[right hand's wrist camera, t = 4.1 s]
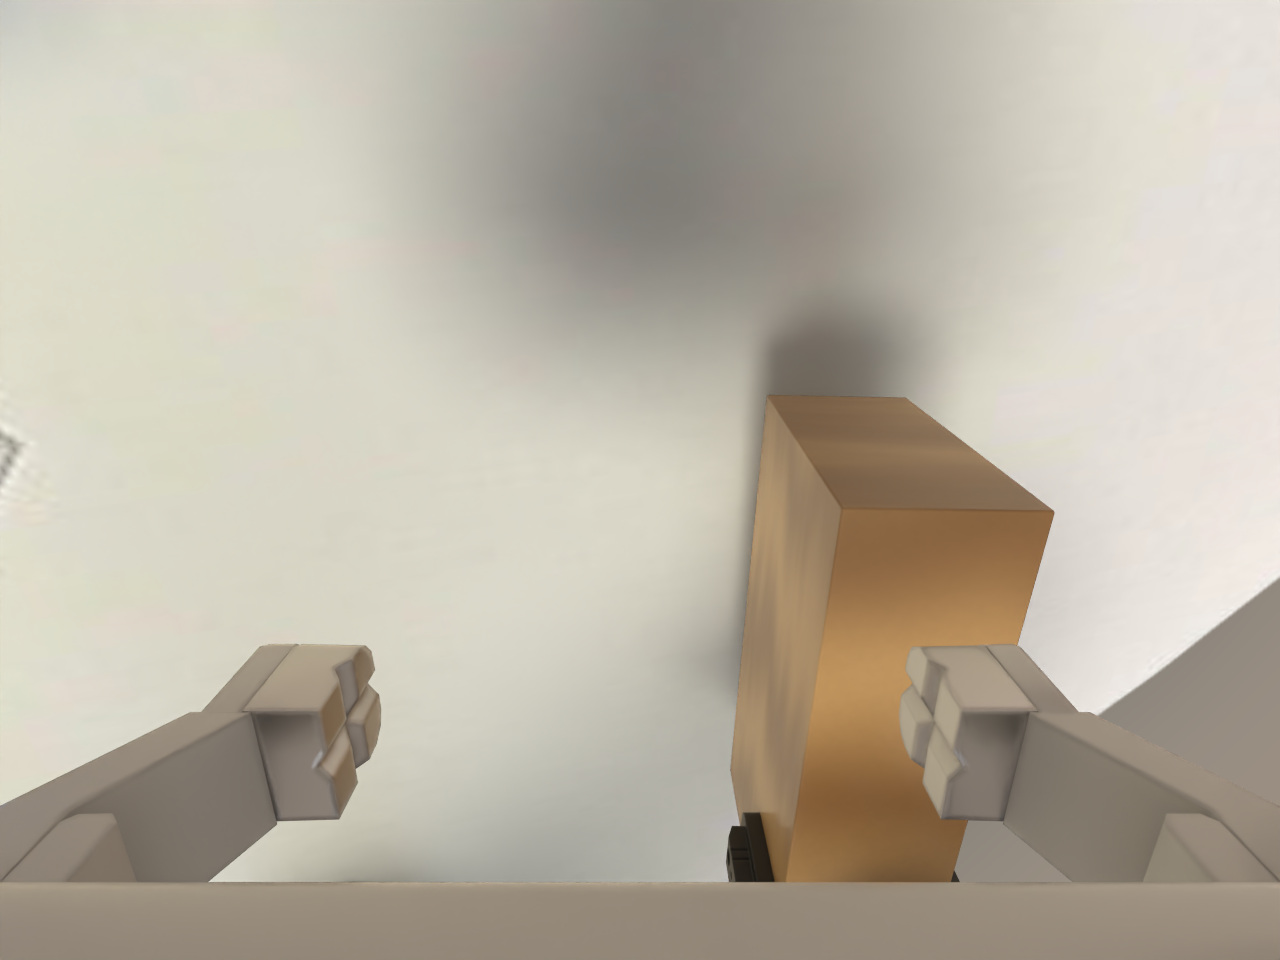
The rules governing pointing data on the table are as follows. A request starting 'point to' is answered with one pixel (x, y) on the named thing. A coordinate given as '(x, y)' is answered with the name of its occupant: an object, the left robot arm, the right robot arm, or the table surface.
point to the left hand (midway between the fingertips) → (825, 828)
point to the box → (865, 626)
